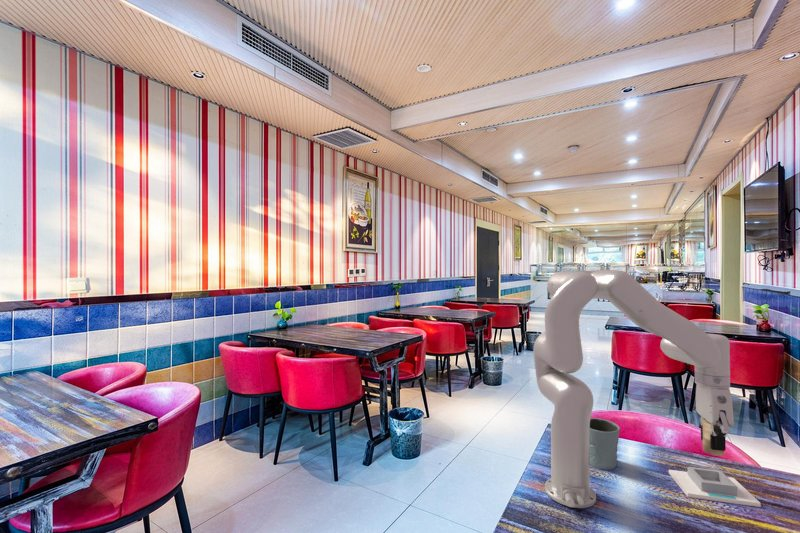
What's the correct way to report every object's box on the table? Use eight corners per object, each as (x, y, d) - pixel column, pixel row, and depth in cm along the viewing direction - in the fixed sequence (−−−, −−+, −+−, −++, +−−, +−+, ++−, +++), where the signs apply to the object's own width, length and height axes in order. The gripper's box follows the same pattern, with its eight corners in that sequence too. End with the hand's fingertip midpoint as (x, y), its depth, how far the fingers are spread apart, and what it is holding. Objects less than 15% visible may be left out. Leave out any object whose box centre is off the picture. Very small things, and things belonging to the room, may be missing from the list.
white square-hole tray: (760, 507, 96) (760, 493, 96) (687, 496, 100) (687, 483, 100) (733, 481, 108) (733, 468, 108) (668, 472, 112) (668, 461, 112)
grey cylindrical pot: (612, 456, 122) (612, 419, 122) (625, 473, 112) (625, 432, 112) (578, 453, 124) (578, 416, 124) (588, 469, 114) (588, 430, 114)
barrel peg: (727, 456, 101) (726, 427, 101) (707, 454, 102) (707, 425, 102) (718, 449, 106) (717, 420, 105) (699, 447, 107) (699, 419, 107)
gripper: (747, 390, 95) (748, 462, 95) (711, 371, 111) (712, 433, 111) (712, 388, 97) (713, 459, 97) (682, 370, 113) (683, 430, 113)
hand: (712, 444), depth 104 cm, fingers closed on barrel peg, 4 cm apart
